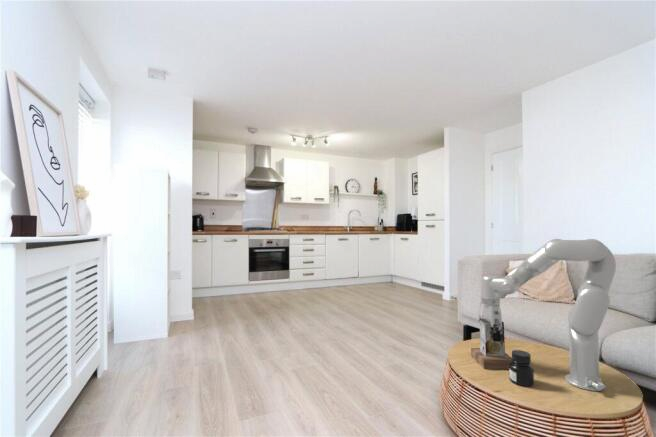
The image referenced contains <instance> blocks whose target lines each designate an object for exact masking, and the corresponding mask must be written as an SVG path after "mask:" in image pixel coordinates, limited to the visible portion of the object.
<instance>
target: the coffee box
mask: <svg viewBox="0 0 656 437" xmlns="http://www.w3.org/2000/svg"><path fill="white" fill-rule="evenodd" d="M494 326H497V325H494ZM496 329H497V328H495V330H496ZM493 332H494V331H493V328H492V327H491V326H490V322H488V321H487V320H485V319H483V318H479V342H480V347H479V348H480V350H481V352H482V353H483V354H484V355H485V356H505V353H506V344H505V342H506V340H505V322H504V321H502V330H501V333H500V334H501V341H493Z"/></svg>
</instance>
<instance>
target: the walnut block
mask: <svg viewBox="0 0 656 437" xmlns="http://www.w3.org/2000/svg"><path fill="white" fill-rule="evenodd" d="M470 349H471V350H470V353H471V354H470V355H471V358H472V359H474V361H476V362H477V363H478V365H480V366H481V367H482V368H483V369H485V370H486V369H487V370H491V369H492V370H509V364H510V363H511V362H512V356H510V355H509V354H508V353H507V352H505V356H485V355H484V354H483V353H482V352H481V350H480V347H477V348H476V347H471V348H470Z"/></svg>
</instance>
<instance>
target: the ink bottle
mask: <svg viewBox="0 0 656 437" xmlns="http://www.w3.org/2000/svg"><path fill="white" fill-rule="evenodd" d="M511 357H512V362H511V363H510V364H509V369H508V370H509V380H510V382H512V384H515V385H517V386H521V387H527V388H528V387H533V386H534V385H535V369H534V367H533V365H531V364H532V363H531V362H532V360H531V359H532V358H531V353H529V352H528V351H526V350H525V351H524V350H520V349H514V350H511Z"/></svg>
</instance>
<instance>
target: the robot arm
mask: <svg viewBox="0 0 656 437" xmlns="http://www.w3.org/2000/svg"><path fill="white" fill-rule="evenodd" d="M560 261H570V262H588V263H587V265H588V266H587V269H586V271H585V275H584V277H583V280H582V282H581V285H580V286H579V288H578V290H577V297H576V300H575V303H574V305H573V307H572V308H571V309H570V310H569V311H568V316H567V320H568V348H569V349H568V352H569V354H568V355H569V373H568V374H565V377H564V378H565V381H566V382H567V383H568V384H570V385H572V386H574V387H576V388H580V389H583V390H586V391H593V392H601V391H603V390H605V389H606V385H605V384H604V383H603V381H602V378H601V377H600V352H599V342H600V341H599V330H600V328H601V327H602V324H603V321H604V319H605V317H606V314H607V311H608V309H609V306H610V301H611V300H610V299H611V297H610V295H609V292H610V288H611V286H612V283H613V280H614V277H615V274H616V271H617V263H616V262H617V261H616V259H615V256H614V254H613V253H612V250H610V248H608V246H607V245H606V244H604V243H603V242H602V241H601V240H599V239H595V238H587V239H560V238H553V239H550V240H548V241H547V242H546V243H545V244H544V245H542V246H541V247H540V248H538V249H537V250H535V252H533V253H532V254H530V256H528V257H527V258H525V259H524V260H523V261H522V263H521V264H519V265H518V266H517V267H516V268H514V269H513V270H512V271H510V272H509V273H508V274H506V275H505V276H504V277H498V276H496V275H484V276H482V278H481V292H482V293H481V296H482V297H481V299H482V315H481V319H485V320H487V321H488V322H490V326H491V327H492V328H493V331H494V332H493V341H501V334H500V333H501V330H502V322H503V318H502V317H503V316H502V310H501V297H500V295H501V294H504V295H512V294H515V293H516V292H517V291H518V289H520V288H521V287H522V286H523V285H524V284H526V283H527V282H528V281H530V280H532V279H533V278H536V277H538V276H540V275H542V274H543V273H545V272H546V271H548V270H549V269H550V268H552V267H553V266H554V265H556V264H557V263H559V262H560ZM500 293H501V294H500ZM494 325H497V326H494ZM495 328H497V329H496V330H495Z"/></svg>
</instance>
